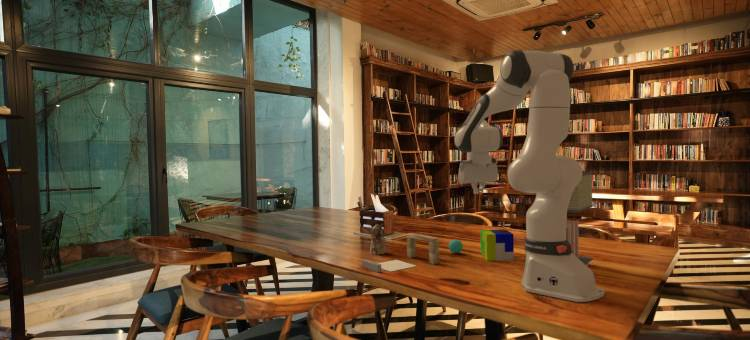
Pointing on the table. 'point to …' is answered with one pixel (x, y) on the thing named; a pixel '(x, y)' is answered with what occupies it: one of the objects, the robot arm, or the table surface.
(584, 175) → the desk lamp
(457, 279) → the table surface
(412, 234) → the bridge
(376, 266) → the stopper strip
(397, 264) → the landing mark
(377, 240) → the figurine
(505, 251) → the puzzle toy
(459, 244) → the ball
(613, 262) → the table surface
